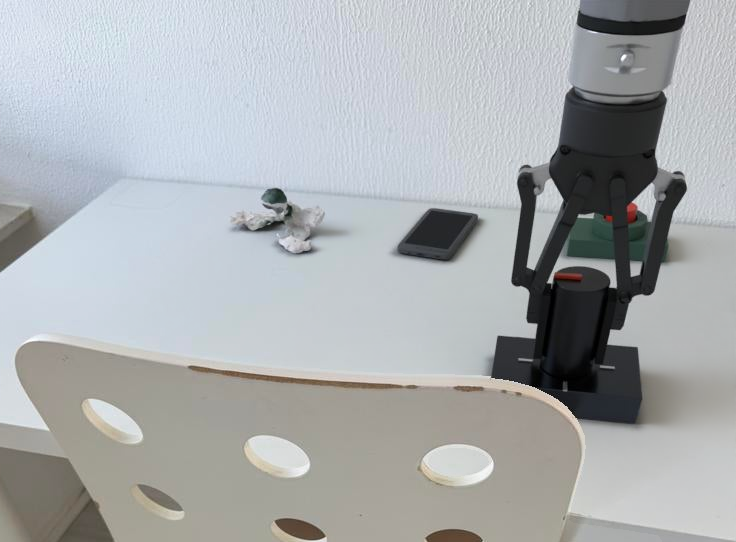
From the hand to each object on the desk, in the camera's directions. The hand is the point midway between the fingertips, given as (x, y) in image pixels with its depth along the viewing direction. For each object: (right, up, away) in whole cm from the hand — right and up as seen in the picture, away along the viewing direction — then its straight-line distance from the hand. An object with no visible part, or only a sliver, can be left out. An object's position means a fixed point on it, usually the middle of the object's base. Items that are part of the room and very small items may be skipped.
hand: (567, 353), depth 74 cm
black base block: (0, -3, +3) cm, 4 cm away
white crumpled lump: (-31, +23, +32) cm, 51 cm away
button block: (+13, +19, +26) cm, 35 cm away
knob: (0, -1, +1) cm, 1 cm away
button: (+13, +22, +23) cm, 35 cm away
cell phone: (-9, +22, +30) cm, 38 cm away
